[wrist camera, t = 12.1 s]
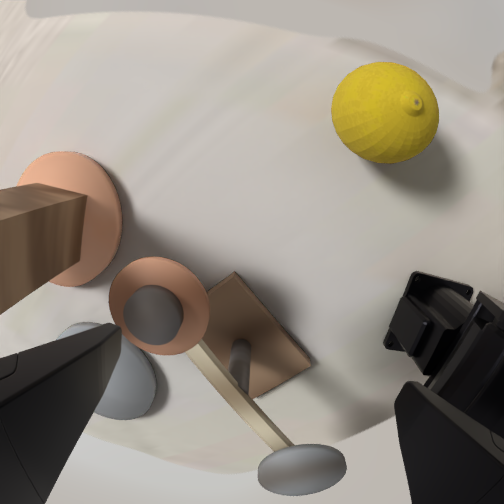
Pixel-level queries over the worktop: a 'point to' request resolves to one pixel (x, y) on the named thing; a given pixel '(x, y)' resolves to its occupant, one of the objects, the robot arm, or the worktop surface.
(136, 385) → the slate dish
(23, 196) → the walnut block
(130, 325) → the balance
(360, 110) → the lemon
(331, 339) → the worktop surface
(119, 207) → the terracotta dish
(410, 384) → the robot arm
